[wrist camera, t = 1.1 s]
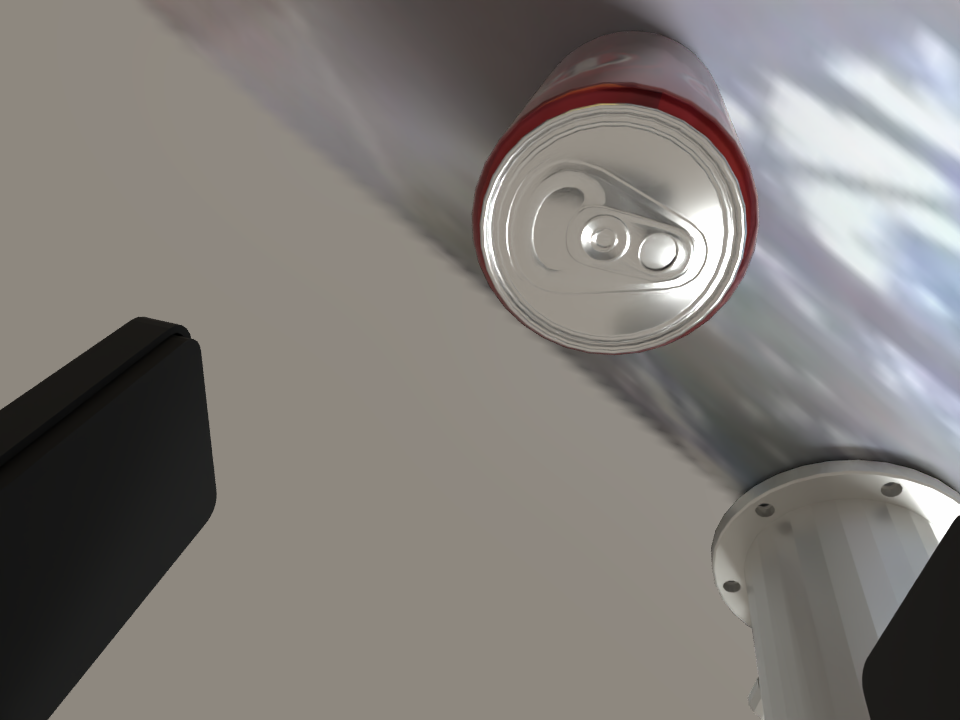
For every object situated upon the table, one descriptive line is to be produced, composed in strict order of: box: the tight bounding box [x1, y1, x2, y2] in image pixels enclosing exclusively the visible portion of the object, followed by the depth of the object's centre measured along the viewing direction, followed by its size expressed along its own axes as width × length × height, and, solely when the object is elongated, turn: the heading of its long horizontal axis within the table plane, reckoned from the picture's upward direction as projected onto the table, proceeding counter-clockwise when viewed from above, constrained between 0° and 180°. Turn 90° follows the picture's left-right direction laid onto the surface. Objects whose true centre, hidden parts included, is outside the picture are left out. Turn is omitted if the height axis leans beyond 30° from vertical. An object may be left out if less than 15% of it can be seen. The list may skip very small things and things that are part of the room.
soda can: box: [472, 31, 759, 355], centre depth 23 cm, size 7×7×12 cm
